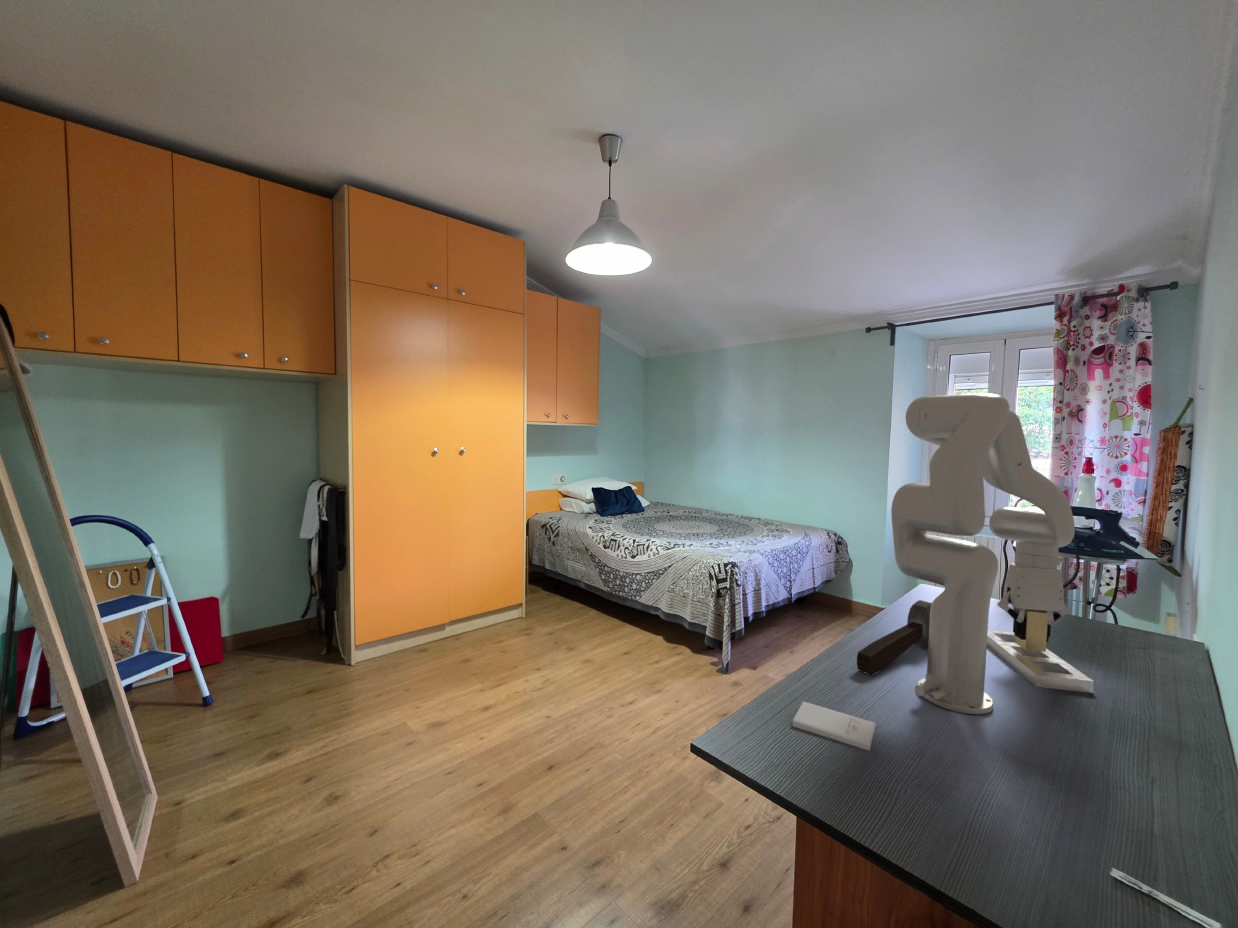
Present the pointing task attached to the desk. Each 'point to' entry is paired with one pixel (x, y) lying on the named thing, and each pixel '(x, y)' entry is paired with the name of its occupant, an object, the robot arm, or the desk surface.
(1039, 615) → the brass peg
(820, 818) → the desk surface
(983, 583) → the robot arm
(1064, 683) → the white flat frame
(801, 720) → the external hard drive
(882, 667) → the hammer
